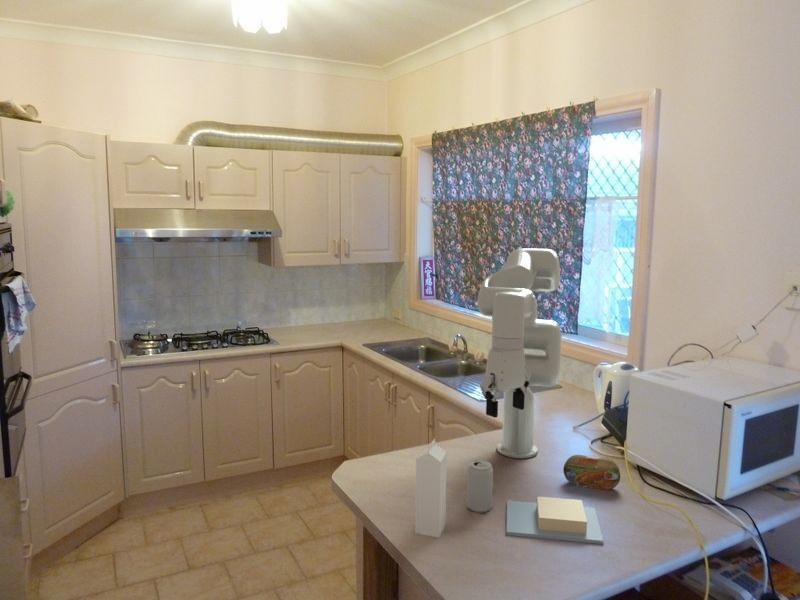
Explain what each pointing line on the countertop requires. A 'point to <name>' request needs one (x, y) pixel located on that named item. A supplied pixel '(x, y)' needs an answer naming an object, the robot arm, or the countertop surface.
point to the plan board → (530, 526)
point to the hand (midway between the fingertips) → (505, 412)
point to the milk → (431, 491)
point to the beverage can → (480, 486)
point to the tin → (592, 472)
